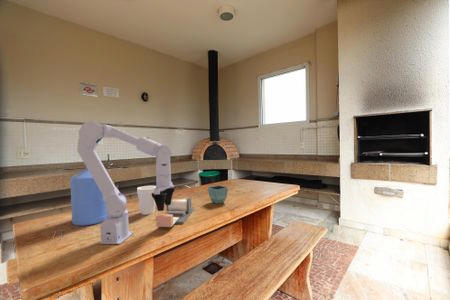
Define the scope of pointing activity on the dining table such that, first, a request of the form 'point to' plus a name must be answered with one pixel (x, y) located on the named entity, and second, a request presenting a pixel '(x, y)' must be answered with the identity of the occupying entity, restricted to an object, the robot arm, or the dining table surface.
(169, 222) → the pink rectangular block
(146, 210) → the foam cup
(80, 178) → the water jug
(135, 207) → the dining table surface
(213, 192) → the flower pot
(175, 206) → the dispenser
